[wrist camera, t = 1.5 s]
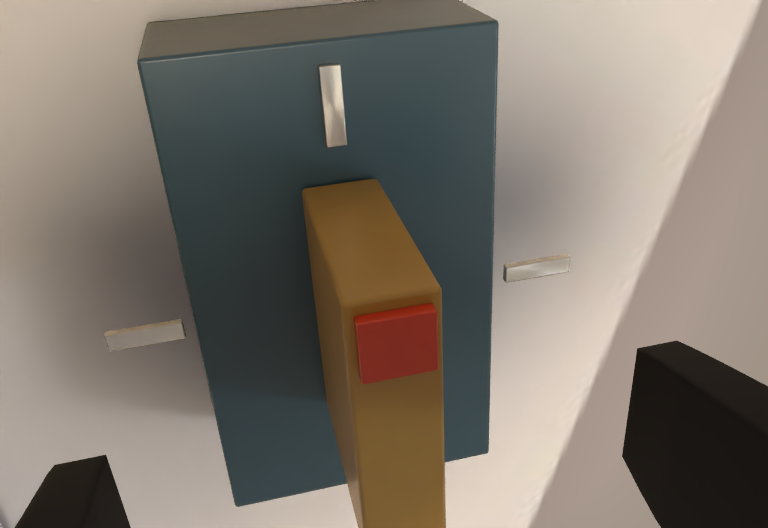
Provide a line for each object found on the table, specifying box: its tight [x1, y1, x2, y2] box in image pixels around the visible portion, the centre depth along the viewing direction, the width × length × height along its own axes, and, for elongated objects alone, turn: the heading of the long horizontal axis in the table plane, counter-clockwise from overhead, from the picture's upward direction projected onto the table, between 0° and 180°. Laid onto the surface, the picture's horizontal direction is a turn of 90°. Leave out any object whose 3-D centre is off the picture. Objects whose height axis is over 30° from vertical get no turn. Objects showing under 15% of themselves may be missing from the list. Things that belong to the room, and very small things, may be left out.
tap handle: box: [302, 179, 446, 528], centre depth 13 cm, size 5×1×4 cm, turn 3°
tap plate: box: [104, 0, 570, 507], centre depth 16 cm, size 10×9×3 cm
